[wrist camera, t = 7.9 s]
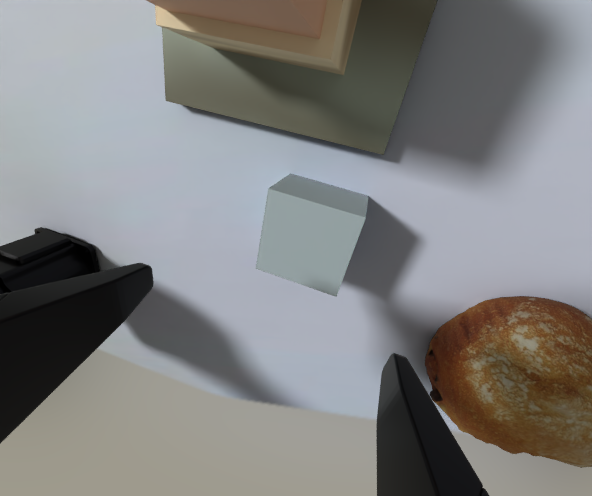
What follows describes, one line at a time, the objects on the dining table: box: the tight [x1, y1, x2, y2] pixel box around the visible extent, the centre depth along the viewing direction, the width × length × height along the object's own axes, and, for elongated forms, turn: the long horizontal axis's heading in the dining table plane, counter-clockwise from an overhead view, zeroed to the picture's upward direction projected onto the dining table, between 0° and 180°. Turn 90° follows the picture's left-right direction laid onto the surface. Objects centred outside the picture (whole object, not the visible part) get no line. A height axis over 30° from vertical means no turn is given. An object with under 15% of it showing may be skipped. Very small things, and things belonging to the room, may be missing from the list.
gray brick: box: [256, 174, 368, 296], centre depth 16 cm, size 5×5×4 cm
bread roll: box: [425, 296, 592, 468], centre depth 16 cm, size 10×10×8 cm
